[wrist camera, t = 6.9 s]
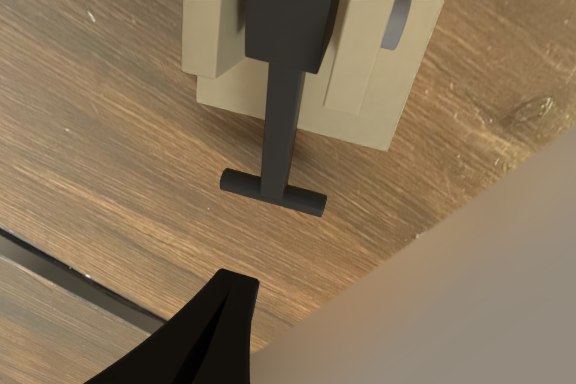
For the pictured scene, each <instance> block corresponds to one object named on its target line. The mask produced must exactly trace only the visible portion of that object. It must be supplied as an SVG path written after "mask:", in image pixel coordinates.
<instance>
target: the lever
mask: <svg viewBox="0 0 576 384" xmlns="http://www.w3.org/2000/svg"><path fill="white" fill-rule="evenodd" d="M339 1H340V0H245V57H248V58H252V59H256V60H260V61H264V62H268V63H269V66H268V81H267V95H266V110H265V124H264V139H263V154H262V168H261V177H259V176H255V175H252V174H248V173H244V172H241V171H237V170H233V169H230V168H226V169H225V170H224V171H223V173H222V176H221V179H220V189H221V190H224V191H228V192H232V193H235V194H239V195H242V196H246V197H249V198H253V199H257V200H260V201H264V202H267V203H271V204H275V205H278V206H282V207H285V208H289V209H292V210H296V211H300V212H303V213H307V214H310V215H314V216H317V217H321V216H322V215H323V211H324V208H325V204H326V200H327V195H325V194H321V193H317V192H314V191H310V190H306V189H303V188H299V187H295V186H292V185H288V179H289V172H290V166H291V160H292V154H293V148H294V142H295V136H296V130H297V124H298V118H299V112H300V106H301V100H302V94H303V88H304V82H305V76H306V72H308V73H312V74H317V73H318V72H319V69H320V66H321V64H322V61H323V58H324V55H325V53H326V50H327V47H328V44H329V42H330V39H331V36H332V34H333V29H334V25H335V20H336V15H337V10H338V6H339Z"/></svg>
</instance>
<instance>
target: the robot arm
mask: <svg viewBox="0 0 576 384" xmlns="http://www.w3.org/2000/svg"><path fill="white" fill-rule="evenodd" d="M259 284H260V282H259V281H258V279H256V278H253V277H249V276H246V275H243V274H239V273H236V272H233V271H229V270H226V269H223V268H222V269H219V270H218V271H217V272H216V273H215V275H214V276H213V277H212V278H211V279H210V280H209V282H208V283H207V284H206V285H205V286H204V287H203V288H202V289H201V290H200V291H199V292H198V293H197V294H196V295H195V296H194V297H193V298H192V299H191V300H190V301H189V302H188V303H187V304H186V305H185V306H184V307H183V308H182V309H181V310H180V311H179V312H177V313H176V314H175V315H174V316H173V317H172V318H171V319H170V320H169V321H167V322H166V323H165V324H164V325H163V326H162V327H160V328H159V329H158V330H157V331H156V332H154V333H153V334H152V335H151V336H150V337H148V338H147V339H146V340H145V341H143V342H142V343H141V344H140V345H138V346H137V347H136V348H134V349H133V350H132V351H130V352H129V353H128V354H126V355H125V356H124V357H122V358H121V359H119V360H118V361H116V362H115V363H114V364H112V365H111V366H109V367H108V368H106V369H105V370H103V371H102V372H100V373H99V374H97V375H96V376H94V377H93V378H91V379H90V380H88V381H87V382H85V383H83V384H250V360H249V359H250V333H251V320H252V317H253V313H254V308H255V303H256V298H257V293H258V288H259Z"/></svg>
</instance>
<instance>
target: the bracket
mask: <svg viewBox="0 0 576 384" xmlns="http://www.w3.org/2000/svg"><path fill="white" fill-rule="evenodd" d="M444 1H445V0H340V1H339V6H338V10H337V15H336V20H335V25H334V29H333V34H332V36H331V39H330V42H329V44H328V47H327V50H326V53H325V55H324V58H323V61H322V64H321V66H320V69H319V72H318V73H317V74H312V73H308V72H306V76H305V82H304V88H303V94H302V100H301V106H300V112H299V118H298V124H297V128H298V129H302V130H305V131H309V132H313V133H317V134H321V135H325V136H328V137H332V138H336V139H340V140H344V141H347V142H351V143H355V144H359V145H363V146H367V147H370V148H374V149H378V150H382V151H388V149H389V146H390V143H391V141H392V138H393V135H394V133H395V130H396V128H397V125H398V122H399V120H400V117H401V114H402V112H403V109H404V106H405V104H406V101H407V99H408V96H409V93H410V91H411V88H412V85H413V83H414V80H415V77H416V75H417V72H418V69H419V67H420V64H421V62H422V59H423V56H424V54H425V51H426V48H427V46H428V43H429V40H430V38H431V35H432V33H433V30H434V27H435V25H436V22H437V19H438V17H439V14H440V11H441V9H442V6H443V4H444ZM268 66H269V63H268V62H264V61H260V60H256V59H252V58H248V57H245V0H183V19H182V66H181V70H182V72H185V73H189V74H193V75H197V87H196V102H199V103H202V104H206V105H210V106H214V107H218V108H221V109H225V110H229V111H233V112H237V113H241V114H244V115H248V116H252V117H256V118H260V119H263V120H265V110H266V95H267V81H268Z"/></svg>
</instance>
